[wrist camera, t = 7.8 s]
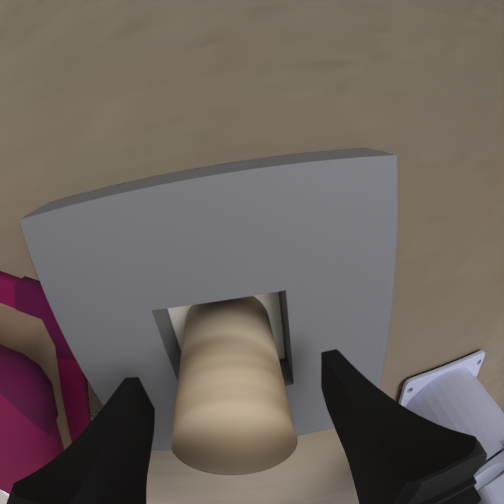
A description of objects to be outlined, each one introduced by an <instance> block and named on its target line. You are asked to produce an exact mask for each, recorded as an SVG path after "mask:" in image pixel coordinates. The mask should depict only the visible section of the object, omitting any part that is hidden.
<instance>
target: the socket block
mask: <svg viewBox="0 0 504 504" xmlns="http://www.w3.org/2000/svg"><path fill="white" fill-rule="evenodd" d="M397 220H398V178H397V155H395V154H390V153H386V152H382V151H377V150H373V149H368V148H360V149H346V150H333V151H322V152H312V153H302V154H293V155H284V156H276V157H268V158H260V159H253V160H246V161H239V162H233V163H226V164H220V165H214V166H208V167H202V168H196V169H191V170H185V171H180V172H175V173H170V174H164V175H160V176H155V177H150V178H145V179H140V180H136V181H131V182H127V183H123V184H118V185H114V186H110V187H106V188H102V189H98V190H94V191H90V192H86V193H82V194H78V195H74V196H71V197H67V198H64V199H60V200H56V201H53V202H49V203H48V204H46V205H44V206H42V207H40V208H39V209H37V210H35V211H33V212H32V213H30V214H28V215H27V216H25V217H23V218H22V219H20V220H19V222H20V225H21V228H22V232H23V235H24V238H25V241H26V244H27V247H28V250H29V253H30V256H31V259H32V262H33V264H34V267H35V270H36V273H37V275H38V278H39V280H40V283H41V286H42V288H43V290H44V293H45V295H46V298H47V300H48V302H49V305H50V307H51V309H52V312H53V314H54V316H55V318H56V320H57V323H58V325H59V327H60V329H61V331H62V333H63V335H64V337H65V339H66V341H67V343H68V345H69V347H70V349H71V351H72V353H73V355H74V357H75V359H76V360H77V362H78V364H79V366H80V368H81V370H82V371H83V373H84V375H85V377H86V378H87V380H88V382H89V384H90V385H91V387H92V389H93V390H94V392H95V394H96V395H97V397H98V398H99V400H100V402H101V403H102V405H103V406H104V405H105V404H106V403H107V401H108V400H109V399H110V397H111V396H112V395H113V393H114V392H115V391H116V389H117V388H118V387H119V385H120V384H121V383H122V381H123V380H124V379H125V378H130V377H139V379H140V381H141V383H142V385H143V387H144V389H145V391H146V393H147V395H148V397H149V399H150V401H151V403H152V405H153V407H154V408H155V425H154V436H153V442H152V448H151V450H172V447H171V439H172V429H173V419H174V410H175V401H176V392H177V384H178V376H179V368H180V360H181V353H182V345H183V338H184V331H185V324H186V318H187V314H188V311H189V309H190V307H191V306H192V305H195V304H202V303H209V302H216V301H223V300H229V299H236V298H242V297H248V296H254V297H256V298H257V299H258V300H259V301H260V302H261V303H262V304H263V305H264V307H265V308H266V310H267V313H268V316H269V320H270V324H271V328H272V333H273V337H274V341H275V345H276V350H277V354H278V358H279V362H280V367H281V371H282V375H283V379H284V384H285V388H286V392H287V397H288V401H289V405H290V409H291V414H292V418H293V422H294V426H295V431H296V435H297V436H298V435H303V434H308V433H312V432H317V431H321V430H325V429H330V428H334V424H333V422H332V420H331V417H330V415H329V412H328V410H327V407H326V403H325V400H324V396H323V392H322V389H321V352H325V351H330V350H334V349H337V350H339V351H340V352H341V353H342V354H343V356H344V357H345V358H346V359H347V360H348V361H349V362H350V363H351V364H352V365H353V366H354V367H355V368H356V369H357V370H358V371H359V372H360V373H361V374H363V375H364V376H365V377H366V378H367V379H368V380H369V381H370V382H372V383H373V384H374V385H375V386H376V387H378V388H380V383H381V377H382V372H383V366H384V360H385V354H386V348H387V341H388V334H389V326H390V319H391V310H392V301H393V290H394V279H395V265H396V248H397Z"/></svg>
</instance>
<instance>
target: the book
mask: <svg viewBox="0 0 504 504" xmlns="http://www.w3.org/2000/svg"><path fill="white" fill-rule="evenodd" d="M90 423H91V419H90V410H89V398H88V385H87V378H86V377H85V375H84V373H83V371H82V370H81V368H80V366H79V364H78V362H77V360H76V359H75V357H74V355H73V353H72V351H71V349H70V347H69V345H68V343H67V341H66V339H65V337H64V335H63V333H62V331H61V329H60V327H59V325H58V323H57V320H56V318H55V316H54V314H53V312H52V309H51V307H50V305H49V302H48V300H47V298H46V295H45V293H44V290H43V288H42V286H41V283H40V281H38V280H35V279H32V278H29V277H26V276H25V277H23V278H22V279H21V278H18V277H15V276H13V275H10V274H7V273H4V272H2V271H0V489H1V490H3V491H5V492H7V493H9V494H10V492H11V489H12V486H13V483H15V482H17V481H19V480H21V479H23V478H25V477H27V476H28V475H30V474H32V473H34V472H35V471H37V470H39V469H40V468H42V467H43V466H45V465H46V464H47V463H49V462H50V461H52V460H53V459H54V458H55V457H57V456H58V455H59V454H60V453H61V452H63V451H64V450H65V449H66V448H67V447H68V446H69V445H70V444H72V443H73V442H74V441H75V440H76V439H77V438H78V437H79V436H80V434H81V433H82V432H83V431H84V430H85V429H86V428H87V427H88V425H89V424H90Z"/></svg>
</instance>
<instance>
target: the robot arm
mask: <svg viewBox="0 0 504 504" xmlns="http://www.w3.org/2000/svg"><path fill="white" fill-rule="evenodd" d="M484 356H485V352H484V351H483V350H480V351H478V352H475V353H473V354H471V355H469V356H466V357H464V358H462V359H459V360H457V361H454V362H452V363H449V364H447V365H444V366H442V367H439V368H437V369H434V370H431V371H429V372H426V373H423V374H420V375H418V376H415V377H412V378H409V379H407V380H406V381H405V382H404V385H403V388H402V392H401V396H400V399H399V403H398V402H396V401H395V400H393V399H392V398H390V397H389V396H388V395H386V394H385V393H384V392H383V391H381V390H380V389H379V388H378V387H376V386H375V385H374V384H373V383H372V382H370V381H369V380H368V379H367V378H366V377H365V376H364V375H363V374H361V373H360V372H359V371H358V370H357V369H356V368H355V367H354V366H353V365H352V364H351V363H350V362H349V361H348V360H347V359H346V358H345V357H344V356H343V354H342V353H341V352H340V351H339V350H337V349H334V350H330V351H325V352H321V389H322V392H323V396H324V400H325V403H326V407H327V410H328V412H329V415H330V417H331V420H332V422H333V424H334V427H335V429H336V431H337V434H338V436H339V439H340V441H341V443H342V446H343V448H344V451H345V453H346V456H347V459H348V462H349V465H350V469H351V472H352V476H353V480H354V484H355V487H356V491H357V495H358V500H359V504H504V413H503V412H502V411H501V409H500V408H499V407H498V405H497V404H496V403H495V401H494V400H493V399H492V397H491V396H490V395H489V394H488V392H487V391H486V390H485V388H484V387H483V386H482V385H481V383H480V382H479V381H478V380H477V378H476V376H477V374H478V371H479V369H480V366H481V364H482V361H483V359H484ZM154 425H155V408H154V407H153V405H152V403H151V401H150V399H149V397H148V395H147V393H146V391H145V389H144V387H143V385H142V383H141V381H140V379H139V377H130V378H125V379H124V380H123V381H122V383H121V384H120V385H119V387H118V388H117V389H116V391H115V392H114V393H113V395H112V396H111V397H110V399H109V400H108V401H107V403H106V404H105V405H104V407H103V408H102V409H101V411H100V412H99V413H98V415H97V416H96V417H95V418H94V419H93V421H92V422H91V423H90V424H89V425H88V427H87V428H86V429H85V430H84V431H83V432H82V433H81V434H80V436H79V437H78V438H77V439H76V440H75V441H74V442H73V443H72V444H70V445H69V446H68V447H67V448H66V449H65V450H64V451H63V452H61V453H60V454H59V455H58V456H57V457H55V458H54V459H53V460H52V461H50V462H49V463H47V464H46V465H45V466H43V467H42V468H40V469H39V470H37V471H35V472H34V473H32V474H30V475H28V476H27V477H25V478H23V479H21V480H19V481H17V482H15V483H13V486H12V489H11V492H10V495H9V498H8V501H7V504H146V483H147V473H148V467H149V460H150V454H151V448H152V442H153V436H154Z"/></svg>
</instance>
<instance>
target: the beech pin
mask: <svg viewBox="0 0 504 504" xmlns="http://www.w3.org/2000/svg"><path fill="white" fill-rule="evenodd" d="M296 446H297V435H296V431H295V426H294V422H293V418H292V414H291V409H290V405H289V401H288V397H287V392H286V388H285V384H284V379H283V375H282V371H281V367H280V362H279V358H278V354H277V350H276V345H275V341H274V337H273V333H272V328H271V324H270V320H269V316H268V313H267V310H266V308H265V307H264V305H263V304H262V303H261V302H260V301H259V300H258V299H257V298H256V297H254V296H248V297H242V298H236V299H229V300H223V301H216V302H209V303H202V304H195V305H192V306H191V307H190V309H189V311H188V314H187V318H186V324H185V331H184V338H183V345H182V353H181V360H180V368H179V376H178V384H177V392H176V401H175V410H174V419H173V429H172V439H171V447H172V450H173V453H174V454H175V455H176V457H177V458H178V459H179V460H181V461H182V462H183V463H185V464H186V465H188V466H190V467H192V468H194V469H197V470H200V471H203V472H207V473H212V474H219V475H244V474H251V473H256V472H260V471H264V470H267V469H269V468H272V467H274V466H276V465H278V464H280V463H282V462H283V461H285V460H286V459H287V458H288V457H289V456H290V455H291V454H292V453H293V452H294V450H295V449H296Z"/></svg>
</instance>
